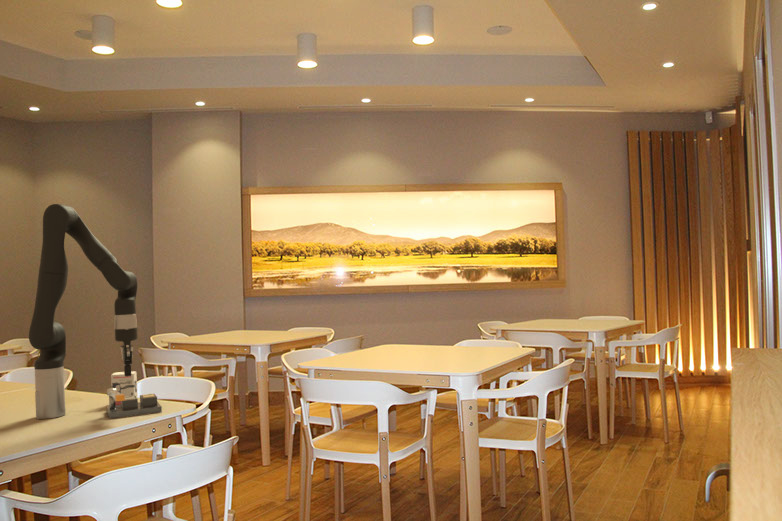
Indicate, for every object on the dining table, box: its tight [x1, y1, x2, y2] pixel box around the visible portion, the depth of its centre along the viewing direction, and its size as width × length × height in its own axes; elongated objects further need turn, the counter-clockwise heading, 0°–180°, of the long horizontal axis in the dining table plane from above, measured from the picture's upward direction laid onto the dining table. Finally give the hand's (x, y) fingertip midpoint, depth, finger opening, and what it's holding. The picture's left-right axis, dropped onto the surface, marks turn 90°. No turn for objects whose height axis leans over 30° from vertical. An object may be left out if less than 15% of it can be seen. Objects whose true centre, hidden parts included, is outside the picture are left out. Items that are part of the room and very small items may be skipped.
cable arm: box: [106, 387, 125, 401], centre depth 229 cm, size 18×3×2 cm, turn 32°
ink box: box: [110, 370, 139, 405], centre depth 256 cm, size 8×5×12 cm, turn 98°
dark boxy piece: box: [106, 393, 163, 420], centre depth 238 cm, size 17×14×7 cm
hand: (127, 375), depth 238 cm, fingers closed
